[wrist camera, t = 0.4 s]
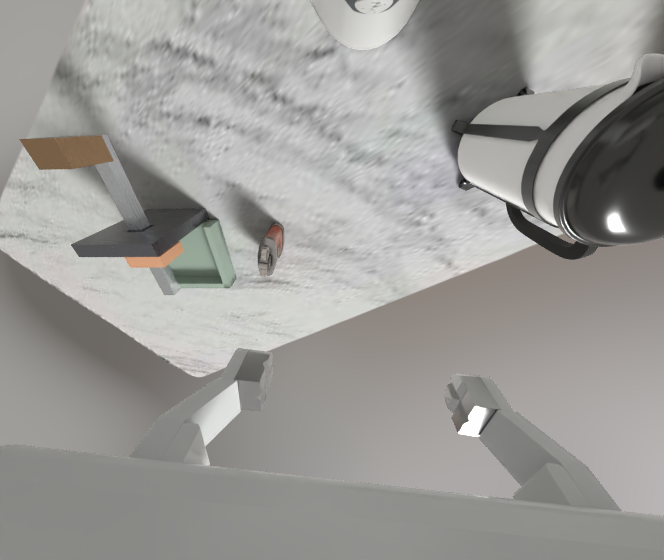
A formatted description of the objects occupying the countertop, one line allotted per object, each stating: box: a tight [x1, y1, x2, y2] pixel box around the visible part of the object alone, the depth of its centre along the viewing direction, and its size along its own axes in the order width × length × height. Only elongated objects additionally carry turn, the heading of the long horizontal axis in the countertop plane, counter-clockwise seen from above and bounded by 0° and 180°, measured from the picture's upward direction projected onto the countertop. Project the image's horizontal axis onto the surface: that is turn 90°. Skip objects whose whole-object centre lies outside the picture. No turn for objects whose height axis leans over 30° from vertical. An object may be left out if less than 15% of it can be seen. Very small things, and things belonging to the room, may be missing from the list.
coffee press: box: [451, 53, 664, 260], centre depth 27 cm, size 17×16×30 cm
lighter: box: [258, 223, 284, 277], centre depth 46 cm, size 8×3×10 cm, turn 168°
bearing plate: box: [71, 209, 209, 257], centre depth 41 cm, size 2×12×16 cm, turn 91°
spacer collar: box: [125, 241, 184, 267], centre depth 42 cm, size 2×6×6 cm, turn 91°
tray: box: [149, 220, 236, 288], centre depth 50 cm, size 14×16×4 cm
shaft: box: [20, 135, 180, 295], centre depth 36 cm, size 26×4×8 cm, turn 1°
